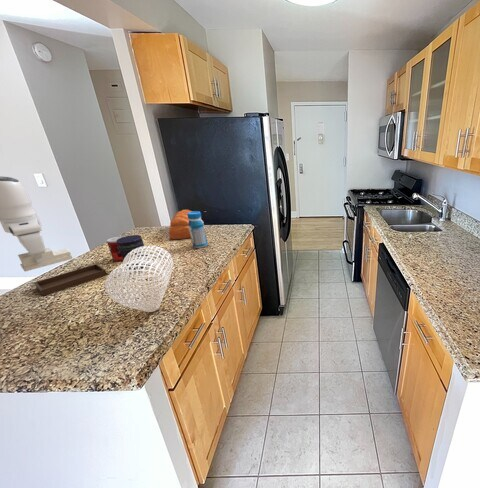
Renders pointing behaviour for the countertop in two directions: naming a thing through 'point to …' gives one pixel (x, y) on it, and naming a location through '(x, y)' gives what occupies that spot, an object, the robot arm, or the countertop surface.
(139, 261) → the white mesh basket
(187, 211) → the bread
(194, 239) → the beverage bottle
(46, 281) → the tray
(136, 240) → the storage jar
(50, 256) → the white block
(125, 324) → the countertop surface
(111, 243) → the canned food
